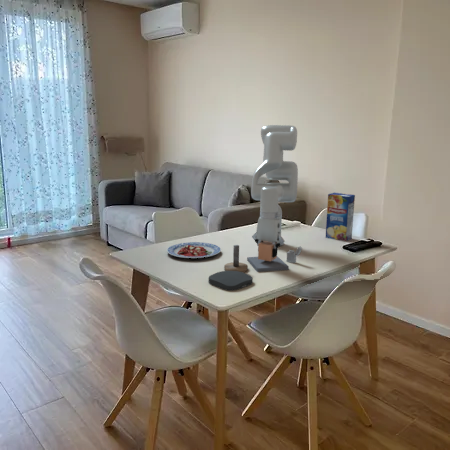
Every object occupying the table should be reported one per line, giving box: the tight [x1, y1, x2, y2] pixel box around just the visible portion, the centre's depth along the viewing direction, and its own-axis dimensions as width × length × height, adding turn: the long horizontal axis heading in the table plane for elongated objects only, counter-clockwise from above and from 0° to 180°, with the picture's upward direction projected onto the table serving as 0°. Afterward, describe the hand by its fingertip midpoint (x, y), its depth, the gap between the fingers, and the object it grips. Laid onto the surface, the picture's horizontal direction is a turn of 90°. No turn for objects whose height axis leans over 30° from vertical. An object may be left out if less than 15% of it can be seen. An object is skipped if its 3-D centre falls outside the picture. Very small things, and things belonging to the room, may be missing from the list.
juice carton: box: [325, 192, 356, 242], centre depth 244 cm, size 12×8×24 cm, turn 50°
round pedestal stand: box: [223, 244, 249, 273], centre depth 193 cm, size 10×10×10 cm
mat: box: [246, 256, 290, 273], centre depth 200 cm, size 16×14×2 cm
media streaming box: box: [208, 270, 254, 291], centre depth 179 cm, size 15×15×3 cm
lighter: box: [286, 246, 303, 264], centre depth 204 cm, size 7×2×8 cm, turn 48°
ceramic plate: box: [166, 241, 222, 260], centre depth 217 cm, size 26×26×3 cm
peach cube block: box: [257, 241, 278, 261], centre depth 199 cm, size 6×6×7 cm
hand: (267, 255), depth 200 cm, fingers closed on peach cube block, 5 cm apart
